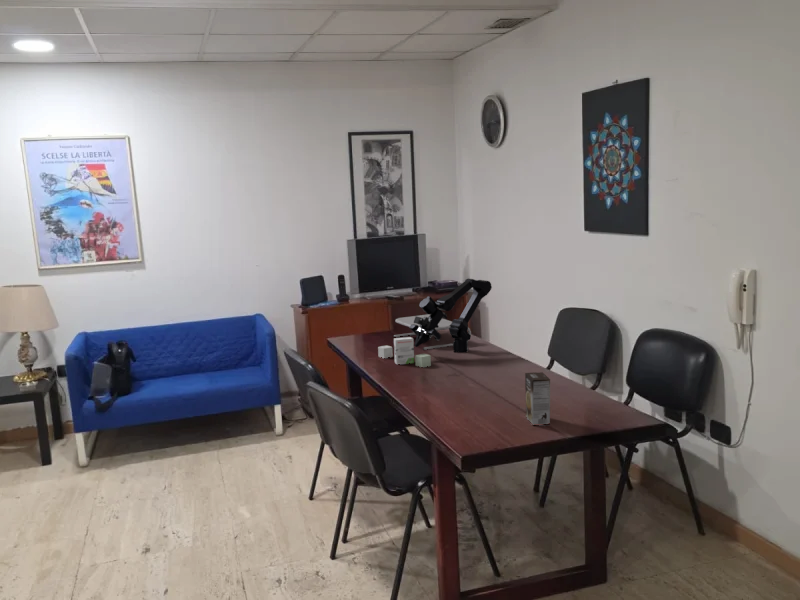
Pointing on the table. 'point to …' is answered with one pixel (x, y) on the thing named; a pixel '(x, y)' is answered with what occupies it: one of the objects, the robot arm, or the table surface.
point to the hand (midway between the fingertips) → (415, 346)
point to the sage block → (423, 360)
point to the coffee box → (537, 398)
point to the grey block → (385, 351)
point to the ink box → (404, 350)
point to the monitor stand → (410, 320)
